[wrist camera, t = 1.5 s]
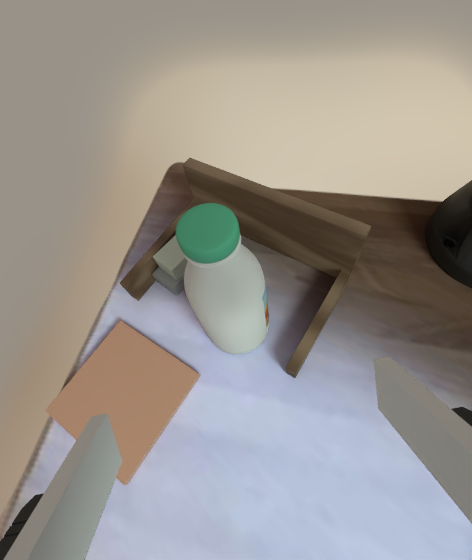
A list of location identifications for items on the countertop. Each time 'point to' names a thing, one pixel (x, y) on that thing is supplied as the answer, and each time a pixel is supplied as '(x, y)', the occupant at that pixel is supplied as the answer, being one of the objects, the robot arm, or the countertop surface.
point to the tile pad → (125, 394)
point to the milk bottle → (223, 279)
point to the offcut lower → (169, 281)
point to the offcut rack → (270, 237)
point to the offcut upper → (171, 259)
